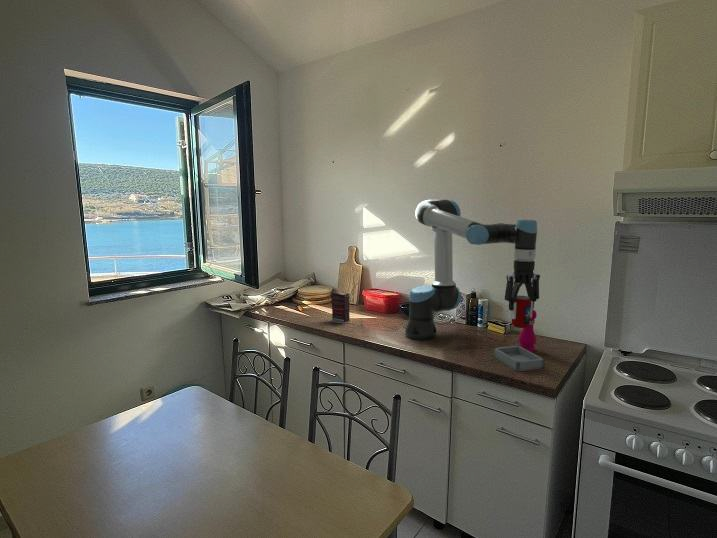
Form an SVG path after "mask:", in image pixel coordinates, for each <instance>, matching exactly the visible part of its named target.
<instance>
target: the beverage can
mask: <svg viewBox="0 0 717 538" xmlns="http://www.w3.org/2000/svg"><path fill="white" fill-rule="evenodd" d="M515 302H516V319H512V318H511V323H510V324H511V325H512V326H513V327H514V328H517V329H523V328H527V327H529V325H530V314H531V300H530V297H528V295H527V296H526V295H517V297H516V300H515Z"/></svg>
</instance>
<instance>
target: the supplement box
mask: <svg viewBox="0 0 717 538" xmlns="http://www.w3.org/2000/svg"><path fill="white" fill-rule="evenodd" d="M331 311H332V312H331V313H332V314H331V316H332V319H331V320H332V321H331V322H333V323H338V324H345V325H346V324H347V323H350V322H351V321H350V293H348V292H343V291H342V292H341V291H334V292H331Z"/></svg>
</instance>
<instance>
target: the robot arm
mask: <svg viewBox="0 0 717 538" xmlns="http://www.w3.org/2000/svg"><path fill="white" fill-rule="evenodd" d="M415 219H416V220H417V221H418V222H419V223H420V224H422V225H423V226H424V225H425V226H427V227H430V229H431V230H432V231H433V233H434V235H433V237H434V238H433V241H434V242H433V243H434V245H433V246H434V281H433V282H432V283H431V286H430V285H419V286H416V287H413V288H412V289H411V290H410V291H409V298H408V300H409V307H408V308H409V311H408V312H409V313H408V315H409V317H408V322H407V324H406V327H405V331H404V333H405V334H404V335H405V337H406V338H409V339H410V340H411V339H412V340H415V341H416V340H419V341H429V340H435V339H436V338H437V336H438V330H437V327H436V324H435V321H434V320H435V319H434V318H435V317H434V315H435V314H434V313H440V312H445V311H451V310H454V309H456V308H458V306H459V305H460V303H461V301H462V293H461V291H460V288H459V287H457V284H456V282H455V281H454V280H453V279H454V278H453V275H454V273H453V271H454V270H453V267H454V266H453V265H454V264H453V234H454V235H456V236H458V237H461V238H464V239H465V240H466V241H467V242H468V243H469V244H471V245H479V246H480V245H489V244H490V245H492V244H500V243H501V244H505V243H506V244H507V243H508V244H514V255H513V259H514V261H513V270H514V271H513V274H511V275H508V274H506V276H505V277H506V286H505V293H504V298H503V299H504V300H505V301H507V302H508V311H509V318H510V319H511V320H512V319H516V302H515V300H516V297H517V296H518V294H519V291H520V289H521V287H522V286H523V285H524V287H525V291H526V293H527V296H528V297H530V300H531V314H530V318H532V309H533V310H534V309H535V302H537V300H539V299H540V278H541V275H540V274H537V273H534V271H535V265H536V264H535V263H536V261H535V260H536V250H537V249H536V248H537V246H536V245H537V236H538V222H537V220H534V219H517V220H516V223H515V224H511V223H501V222H499V223H491V224H485V223H480V222H478V221H474V220H472V219H468V218H466V217H463V216H461V208H460V207H459V204H458V203H457V202H455V201H454V200H451V199H427V200H423V201H421V202H419V203H418V204H417V207H416V208H415Z"/></svg>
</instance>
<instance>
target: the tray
mask: <svg viewBox="0 0 717 538" xmlns="http://www.w3.org/2000/svg"><path fill="white" fill-rule="evenodd" d="M492 351H493V353H492V357H494V359H495V358H496V359H497V360H498V361H500V362H502V363H503V364H505V365H506V366H508V367H510V368H511V369H512V370H514V371H516V372H524V371H530V370H540V369H544V368H545V361H546V359H545V358H542V357H541V356H539V355H537V354H535V353H533V352H530V351H528V350H526V349H524V348H522V347H520V346H519V345H512V346H502V347H493V349H492Z"/></svg>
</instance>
